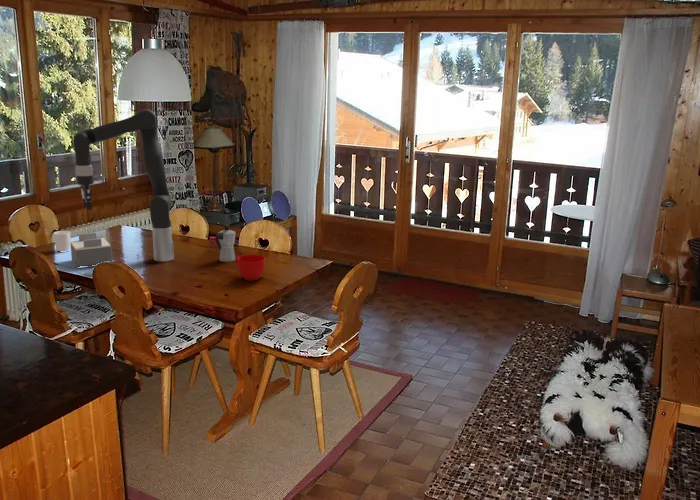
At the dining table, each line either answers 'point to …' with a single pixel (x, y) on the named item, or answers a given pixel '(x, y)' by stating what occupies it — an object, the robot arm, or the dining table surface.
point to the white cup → (62, 240)
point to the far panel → (86, 238)
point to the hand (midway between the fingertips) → (87, 208)
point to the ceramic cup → (250, 266)
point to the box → (90, 256)
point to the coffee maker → (226, 244)
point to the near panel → (81, 246)
